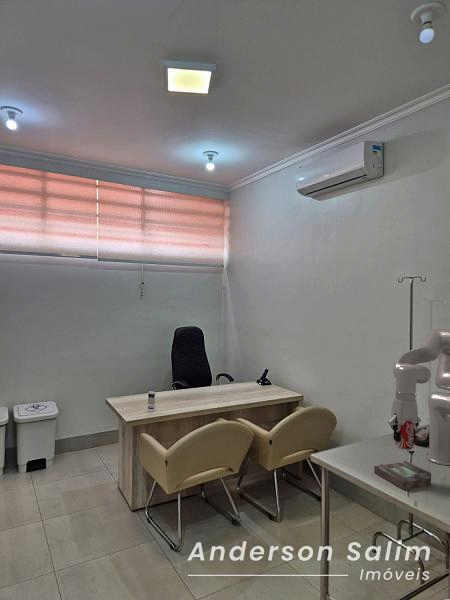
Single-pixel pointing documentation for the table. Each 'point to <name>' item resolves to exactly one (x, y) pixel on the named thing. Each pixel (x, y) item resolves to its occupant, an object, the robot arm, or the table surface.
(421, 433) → the caster wheel
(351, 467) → the table surface
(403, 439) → the soda can
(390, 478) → the frame
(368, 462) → the table surface
